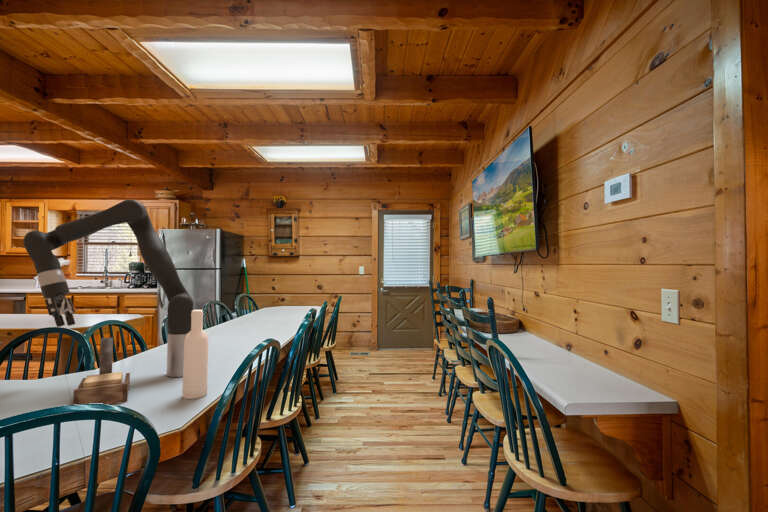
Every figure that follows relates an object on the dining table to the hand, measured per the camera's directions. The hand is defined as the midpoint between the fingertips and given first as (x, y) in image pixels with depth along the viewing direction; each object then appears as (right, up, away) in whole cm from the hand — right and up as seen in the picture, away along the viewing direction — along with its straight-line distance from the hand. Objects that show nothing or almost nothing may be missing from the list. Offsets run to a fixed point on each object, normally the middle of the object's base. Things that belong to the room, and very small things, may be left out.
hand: (66, 325), depth 139 cm
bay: (+20, -23, -8) cm, 32 cm away
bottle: (+50, -24, -6) cm, 56 cm away
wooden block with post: (+20, -22, -9) cm, 31 cm away
